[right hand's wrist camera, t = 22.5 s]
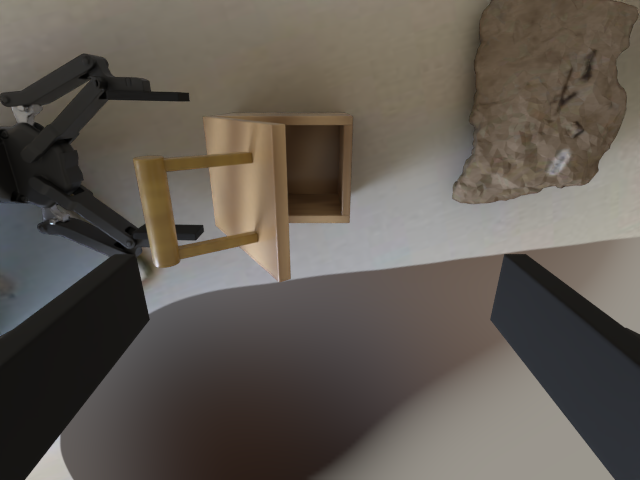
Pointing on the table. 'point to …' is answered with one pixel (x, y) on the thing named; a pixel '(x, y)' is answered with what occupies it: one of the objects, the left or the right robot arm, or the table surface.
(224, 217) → the lid
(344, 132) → the chest
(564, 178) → the stone
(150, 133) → the table surface
